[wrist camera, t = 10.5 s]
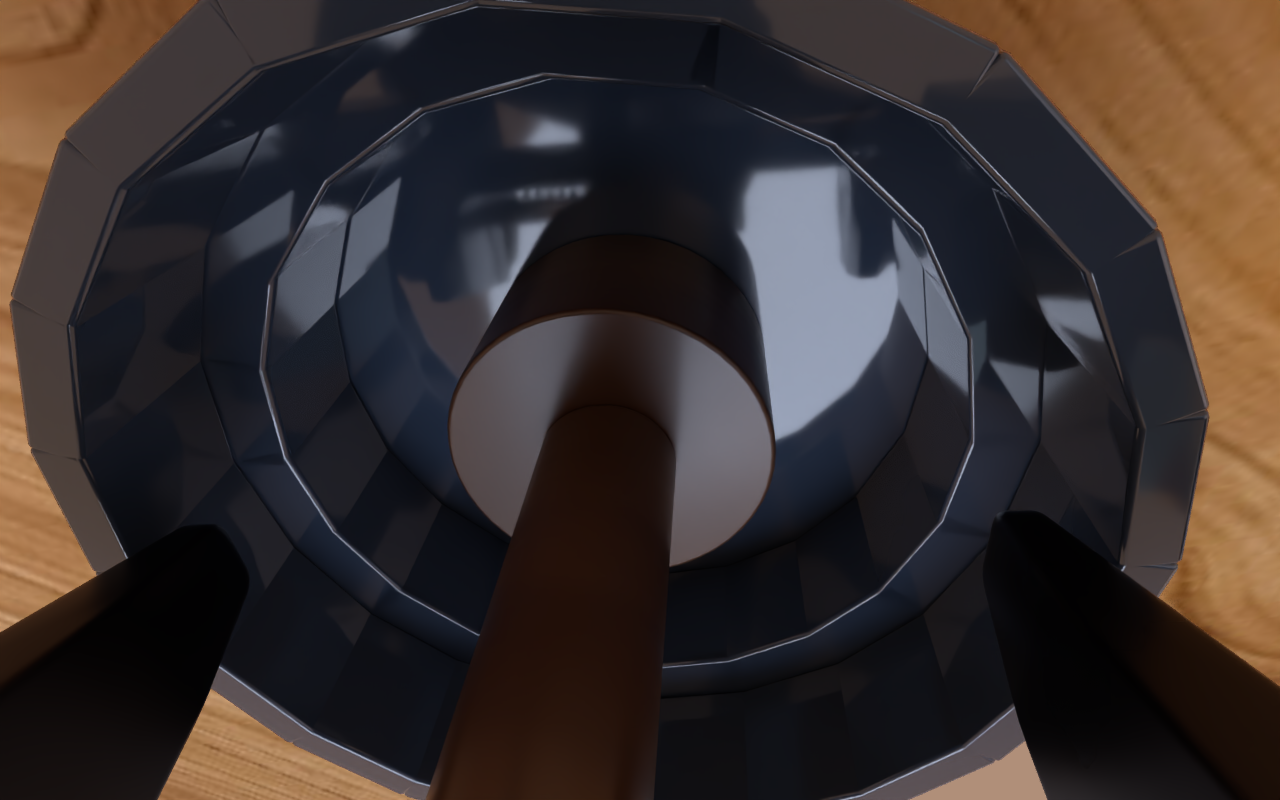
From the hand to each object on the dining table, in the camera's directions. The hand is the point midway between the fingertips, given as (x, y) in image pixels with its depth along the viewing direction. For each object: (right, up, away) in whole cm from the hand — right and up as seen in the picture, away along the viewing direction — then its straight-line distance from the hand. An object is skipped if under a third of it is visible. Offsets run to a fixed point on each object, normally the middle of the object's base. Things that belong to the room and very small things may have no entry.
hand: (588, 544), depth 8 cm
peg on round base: (0, +2, +3) cm, 4 cm away
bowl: (0, +2, +4) cm, 5 cm away
